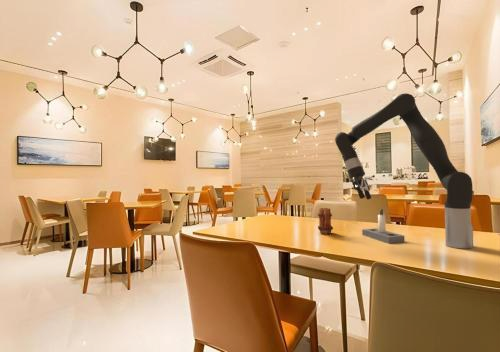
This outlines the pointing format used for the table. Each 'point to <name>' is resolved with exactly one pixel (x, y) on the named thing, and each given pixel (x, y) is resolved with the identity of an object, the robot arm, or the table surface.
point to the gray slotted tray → (383, 236)
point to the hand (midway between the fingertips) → (366, 198)
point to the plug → (381, 222)
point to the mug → (325, 221)
